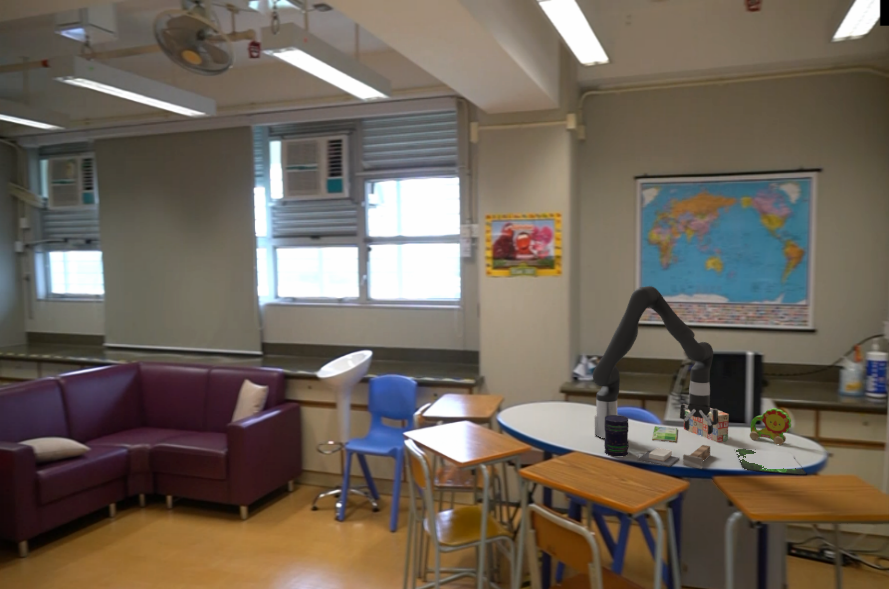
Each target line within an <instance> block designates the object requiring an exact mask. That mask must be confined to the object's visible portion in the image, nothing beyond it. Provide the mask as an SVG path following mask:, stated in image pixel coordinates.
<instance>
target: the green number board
mask: <svg viewBox="0 0 889 589" xmlns="http://www.w3.org/2000/svg"><path fill="white" fill-rule="evenodd" d="M677 436H678V428H677V427H670V426H658V425H657V426H654V429H653V433H652V438H651V440H652V441H654V440H661V441H660V442H665V441H669V442H668V443H677Z"/></svg>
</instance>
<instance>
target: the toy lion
mask: <svg viewBox="0 0 889 589" xmlns="http://www.w3.org/2000/svg"><path fill="white" fill-rule="evenodd" d="M758 421H761V422H762V423H763V424H764V427H763V428H761V429H758V428H756V427H757V426H756V424H757V422H758ZM790 428H792V419H791V417H790V416H789V414H788V413H787V412H784V410H782V409H778V408H776V407H773V408H771V409H767V410H766V411H765V412H763V413H762V415H757V416H755V417H754V418H753V419H752V420H751V422H750V433H749V438H750V440H753V441H757V440H758V439H760V438H767V439H769V440H772V441H773V443H774V444H775V445H776V444H779V445H778V446H781V445H783V444H784V443H786V440H787V437H786V436H785V435H784V434H785V433H787V432H788V431H789V430H790Z"/></svg>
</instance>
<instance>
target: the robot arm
mask: <svg viewBox="0 0 889 589" xmlns="http://www.w3.org/2000/svg"><path fill="white" fill-rule="evenodd" d="M648 309H651V310H653V311H654V312H655V313H656V314H657V315H658V316H659V317H660V318H661V320H662V323H663V324H664V327H665V329H666V331H667V332H668V333H669V335H671V336H672V337H673V338H674V339H675V340H676V341H677V343H678V344H680V346H681V348H682V349H683V352H684V354H686V356H687V357H689V359H691V360H693V361H694V365H693V366H691V369H690V376H689V378H690V379H689V380H690V381H689V388H688V390H689V391H688V392H689V394H688V396H689V398H688V404H687V403H685V402H684V403H682V404H680V410H679V412H680V413H679V419H681V420H683V422H684V421H685V428H686V431H688V430H689V426H690V420H689V419H690V418H691V417H692V416H694V417H699V418H704V419H705V421H707V423H708V424H709V425H708V434H709V435H710V434H711V433H712V432H713V425H716V424H718V410H719V409H718V408H712V409H710V408H711V407H710V403H711V402H710V401H711V399H710V398H711V397H710V395H711V387H710V386H711V384H710V378H711V377H710V375H711V374H710V371H711V367H712V363H713V358H714V350H713V347H712V345H711V344H710V343H709V342H706V341H705V342H704V341H702V342H699V341H697V340H696V339H695V332H694V331H693V330H692V329H691V328H690V327H689V326H688V325H687V324H686V323H685V322H684V321H683V320H682V319H681V318H680V317H679V316H678V314H677V313H676V312H675V311H674V310H673V308H672V307H671V306H670V305H669V303H668V302H667V301H666V300H665V298H664V296H663V295H662V294H661V292H660V291H659V289H657V288H656V287H654V286H652V285H651V286H650V285H649V286H640V287H638V288H636V289H635V290H633V291H632V293H631V295H630V297H629V301H628V303H627V307H626V309H625V311H624V314H623V315H622V318H621V319H620V321H619V324H618V326H617V327H616V329H615V332H614V333H613V335H612V336H611V340H610V341H609V343H608V345H607V347H606V349H605V351H604V354H603V355H602V357H601V358H600V360H599V362H598V363H597V365H596V366H595V368H594V369H593V371H592V380H593V383H594V384H595V385H596V386H599V387H601V388H600V390H598V391H597V392H596V398H595V399H596V415H594V436H595V435H597V436H599V437H602V438H605V429H604V428H605V427H604V423H605V417H606V416H609V415H618V396H619V393H620V381H621V380H620V378H621V375H620V370H619V369H618V367H617V366H616V365H617V364H618V363H619V362H620V361H621V360H622V359H623V358H624V357H625V356H626V354H628V353H629V351H630V350H631V349H632V347H633V346H634V344H635V341H636V340H637V338H638V334H639V323H640V319H641V318H642V316H643V314H644V313H645V311H646V310H648ZM685 410H689V411H690V413H689V414H688V415H687V417H686V416H685ZM709 412H711V413H712V415H713V421H712V419H711V417H710V416H709V414H708V413H709ZM597 436H596V437H597ZM599 437H598V438H599ZM602 438H601V439H602Z"/></svg>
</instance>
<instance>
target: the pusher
mask: <svg viewBox="0 0 889 589" xmlns="http://www.w3.org/2000/svg"><path fill="white" fill-rule="evenodd" d="M709 455H710V456H711V446H710V445H705V444H702V445H700V446H699V447H698V448H697V449H695V450H694V451H693V452H691V454H683V455H682V465H683V466H686V467H692V468H695V469H696V468H697V469H701V470H702V469H703V462H704V461H706V460H707V459H708V458H709V457H710V456H709ZM708 456H709V457H708ZM707 457H708V458H707ZM706 458H707V459H706ZM705 459H706V460H705ZM703 460H704V461H703ZM702 461H703V462H702Z"/></svg>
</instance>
